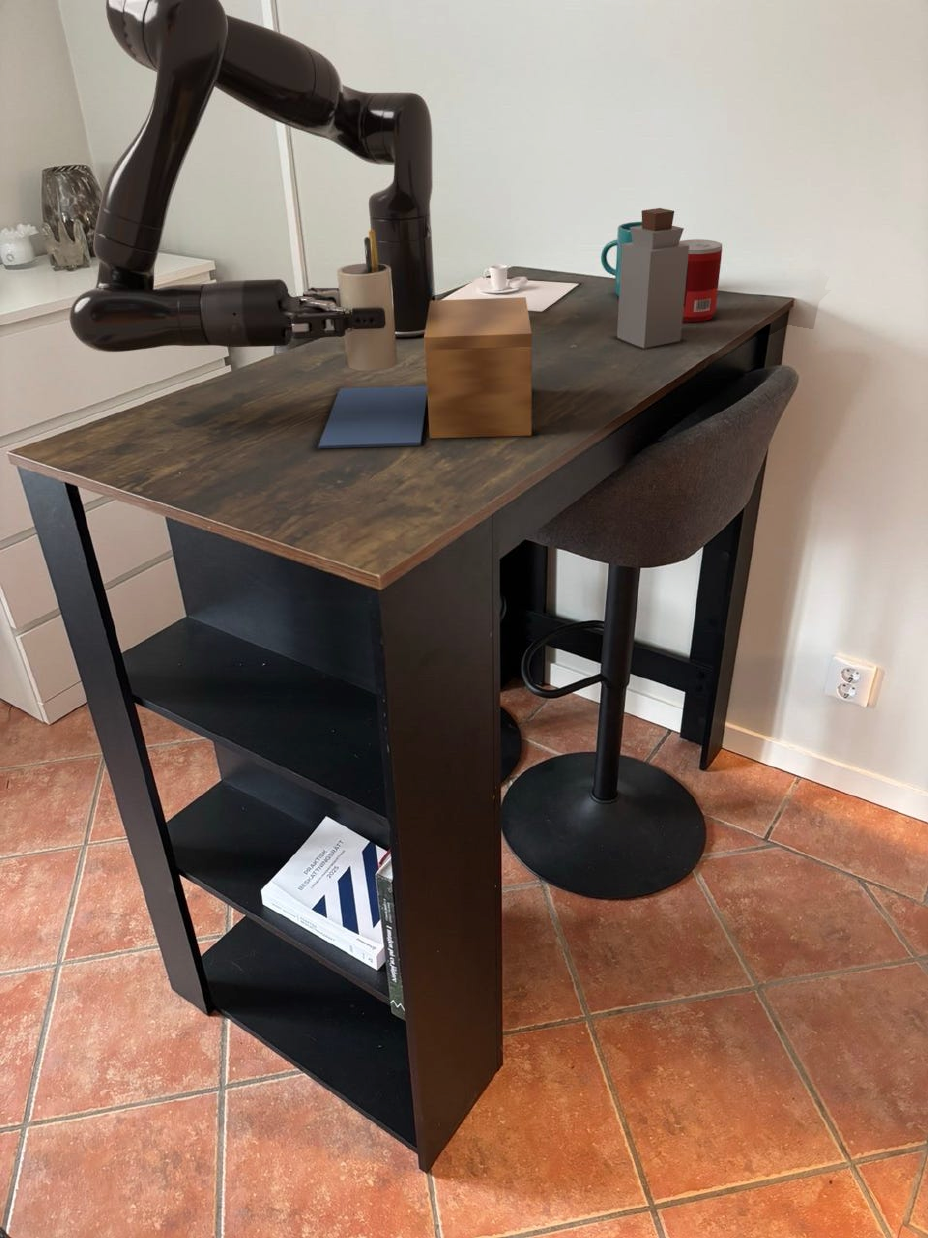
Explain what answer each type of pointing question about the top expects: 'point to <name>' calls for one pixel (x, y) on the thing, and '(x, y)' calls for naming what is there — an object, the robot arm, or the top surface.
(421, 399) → the mat
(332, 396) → the top surface
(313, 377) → the top surface
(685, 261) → the perfume bottle
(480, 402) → the wooden shelf box
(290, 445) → the top surface
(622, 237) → the cup
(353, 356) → the holder
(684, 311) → the canned food
